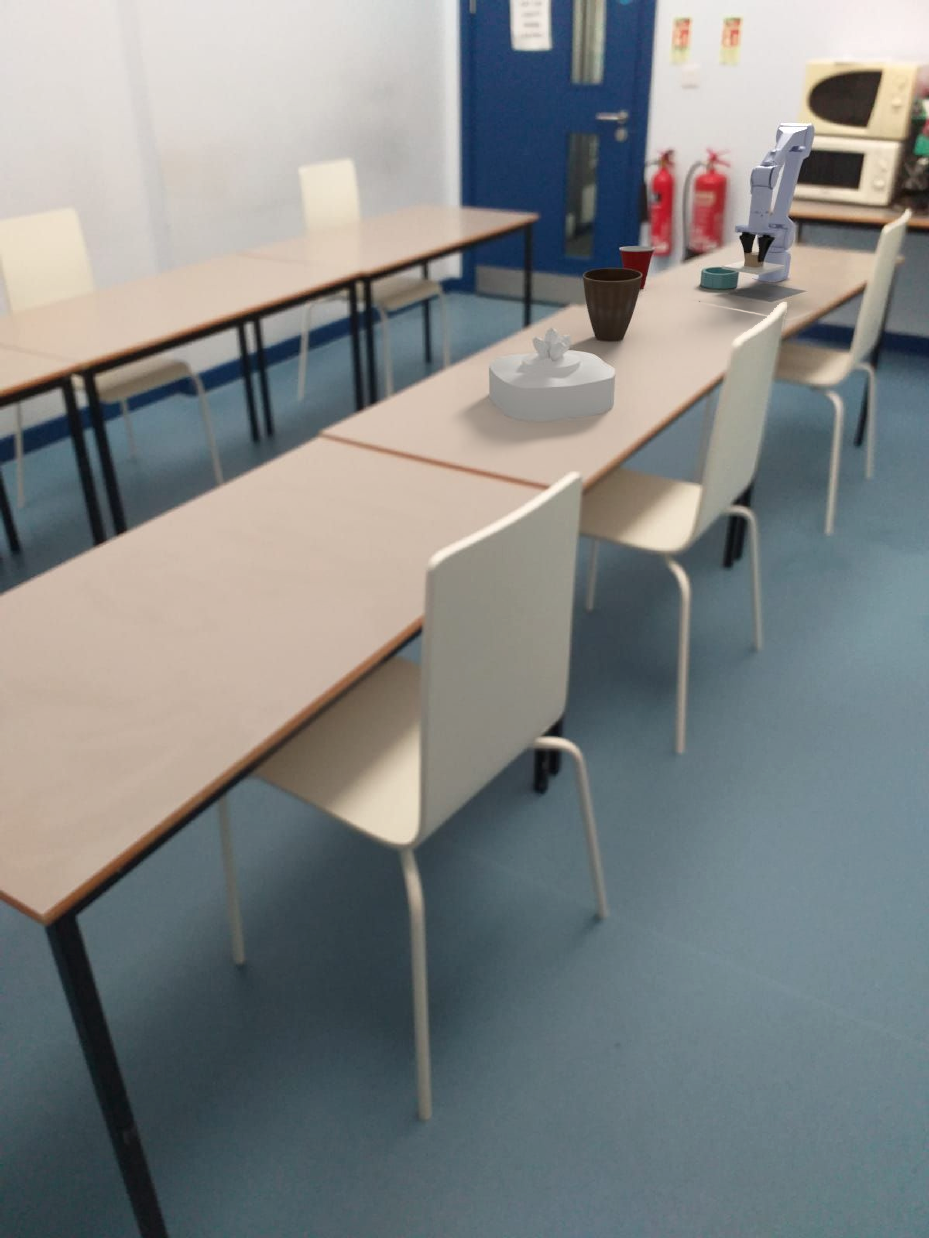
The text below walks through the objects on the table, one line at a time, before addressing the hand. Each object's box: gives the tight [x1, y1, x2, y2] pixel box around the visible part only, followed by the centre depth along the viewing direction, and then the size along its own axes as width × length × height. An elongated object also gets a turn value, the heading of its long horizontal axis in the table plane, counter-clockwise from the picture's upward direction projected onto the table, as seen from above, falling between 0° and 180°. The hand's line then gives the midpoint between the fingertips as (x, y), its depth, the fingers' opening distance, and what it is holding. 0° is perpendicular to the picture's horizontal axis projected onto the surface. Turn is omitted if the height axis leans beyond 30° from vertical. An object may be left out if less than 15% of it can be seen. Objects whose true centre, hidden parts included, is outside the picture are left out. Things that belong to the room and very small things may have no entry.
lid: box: [721, 251, 785, 276], centre depth 287 cm, size 13×13×4 cm
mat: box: [728, 282, 806, 303], centre depth 288 cm, size 18×15×1 cm
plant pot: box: [582, 267, 642, 342], centre depth 249 cm, size 15×15×16 cm
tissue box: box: [488, 326, 616, 423], centre depth 208 cm, size 25×25×16 cm
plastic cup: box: [619, 245, 656, 290], centre depth 298 cm, size 11×11×12 cm
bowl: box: [699, 266, 740, 290], centre depth 297 cm, size 11×11×5 cm
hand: (754, 260), depth 287 cm, fingers closed on lid, 4 cm apart
